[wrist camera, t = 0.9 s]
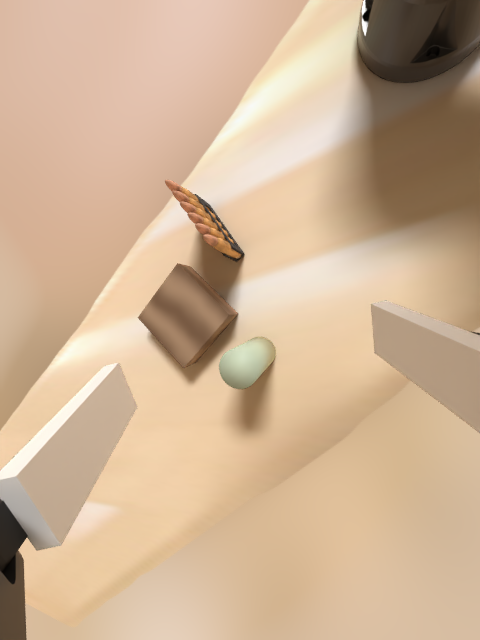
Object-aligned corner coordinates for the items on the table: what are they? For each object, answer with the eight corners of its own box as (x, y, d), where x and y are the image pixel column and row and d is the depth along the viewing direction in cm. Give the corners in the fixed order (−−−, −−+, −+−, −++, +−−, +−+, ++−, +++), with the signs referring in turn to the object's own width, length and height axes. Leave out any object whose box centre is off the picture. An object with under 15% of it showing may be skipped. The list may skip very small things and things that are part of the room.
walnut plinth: (190, 266, 44) (177, 263, 41) (238, 313, 42) (229, 314, 38) (152, 316, 48) (137, 317, 44) (195, 362, 45) (183, 368, 42)
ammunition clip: (245, 254, 41) (213, 237, 30) (236, 262, 42) (202, 247, 30) (209, 204, 43) (166, 169, 31) (201, 212, 43) (156, 180, 32)
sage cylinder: (259, 330, 41) (236, 340, 31) (282, 352, 40) (266, 370, 30) (239, 351, 43) (211, 367, 32) (261, 373, 42) (239, 397, 31)
